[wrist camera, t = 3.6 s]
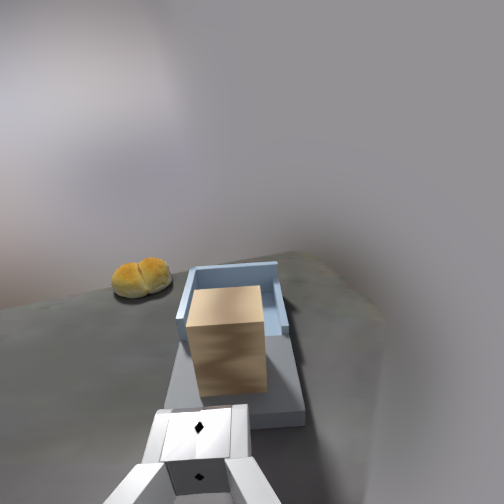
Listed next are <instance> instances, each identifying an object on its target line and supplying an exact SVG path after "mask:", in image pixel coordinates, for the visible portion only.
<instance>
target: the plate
mask: <svg viewBox="0 0 504 504" xmlns="http://www.w3.org/2000/svg"><path fill="white" fill-rule="evenodd" d="M265 351H266V372H267V392H263V393H249V394H235V395H221V396H207V397H200V396H199V391H198V386H197V381H196V376H195V371H194V366H193V361H192V356H191V351H190V346H189V342H180V344H179V348H178V352H177V356H176V360H175V364H174V368H173V372H172V376H171V380H170V384H169V389H168V393H167V397H166V401H165V405H164V409H181V408H201V407H208V406H220V405H240V404H248V410H249V421H250V430H254V429H268V428H281V427H295V426H305V415H306V410H305V405H304V401H303V396H302V391H301V387H300V382H299V377H298V373H297V368H296V363H295V359H294V354H293V350H292V345H291V340H290V336H289V335H276V336H265Z"/></svg>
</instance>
